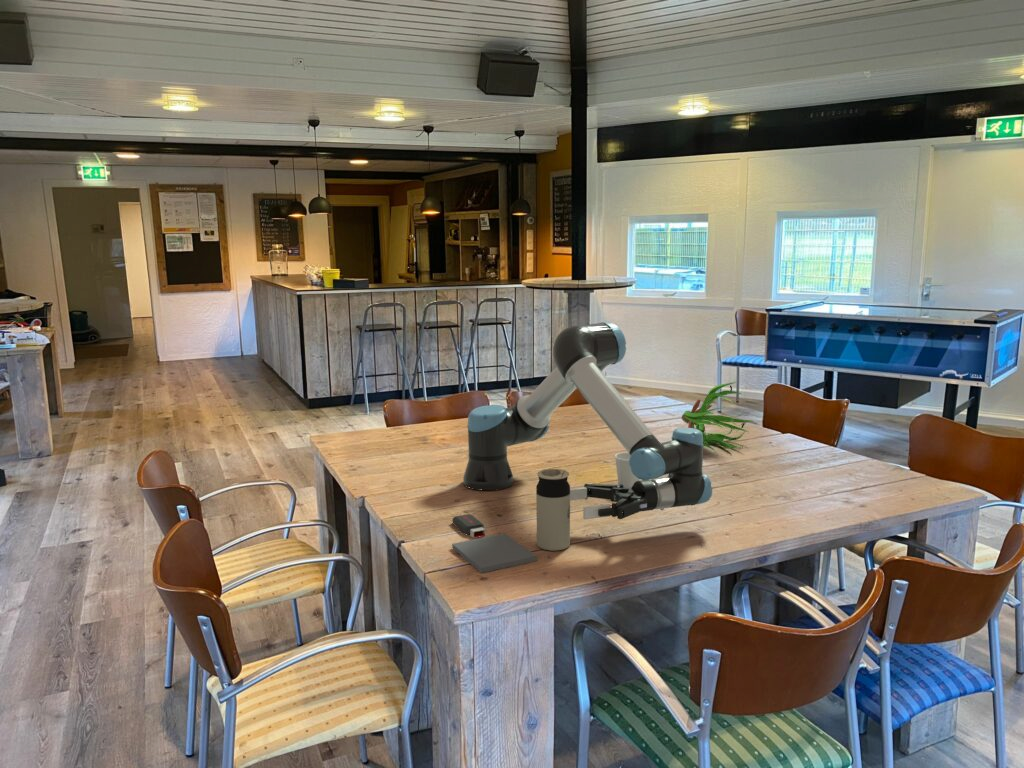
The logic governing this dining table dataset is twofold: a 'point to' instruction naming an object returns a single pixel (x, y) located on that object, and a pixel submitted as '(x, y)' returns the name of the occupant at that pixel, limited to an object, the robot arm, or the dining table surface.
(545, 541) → the travel mug
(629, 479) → the dixie cup
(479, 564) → the charcoal mat
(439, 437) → the dining table surface
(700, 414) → the decorative plant
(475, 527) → the usb drive
